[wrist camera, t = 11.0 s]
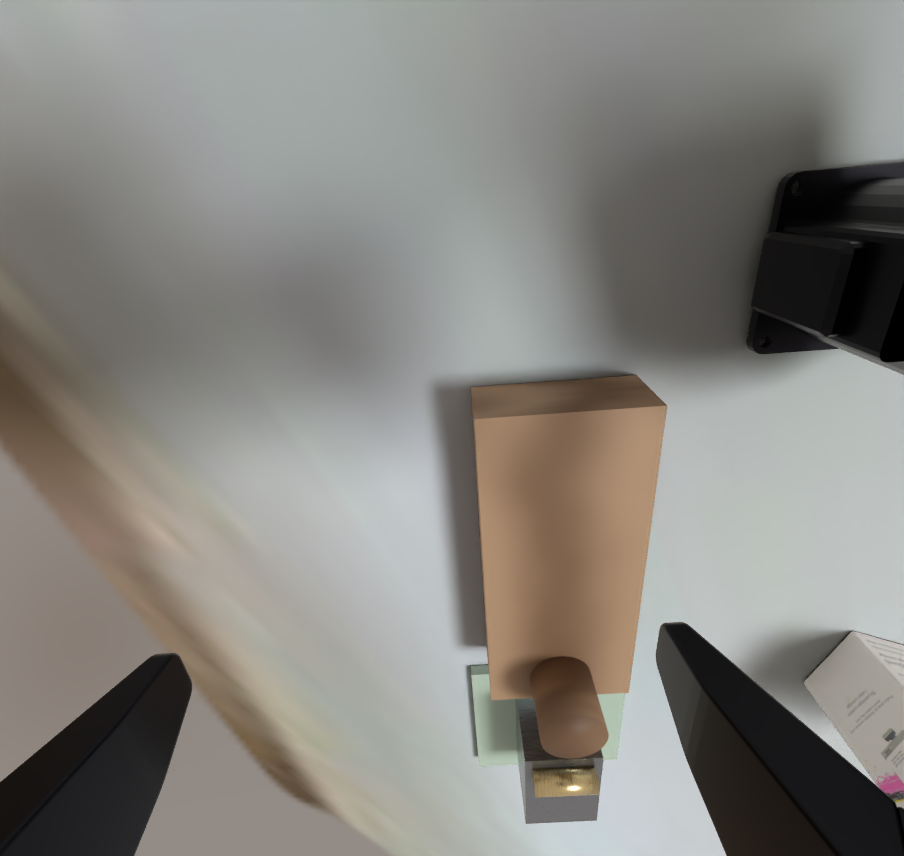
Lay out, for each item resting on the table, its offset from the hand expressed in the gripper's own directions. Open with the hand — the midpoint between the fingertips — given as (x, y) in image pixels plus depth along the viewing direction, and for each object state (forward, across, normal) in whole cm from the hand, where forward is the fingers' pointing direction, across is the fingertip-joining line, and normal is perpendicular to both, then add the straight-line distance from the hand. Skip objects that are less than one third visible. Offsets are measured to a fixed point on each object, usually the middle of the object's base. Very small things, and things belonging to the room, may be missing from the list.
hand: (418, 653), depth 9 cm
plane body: (+13, -5, +8) cm, 16 cm away
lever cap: (+12, -5, +22) cm, 26 cm away
